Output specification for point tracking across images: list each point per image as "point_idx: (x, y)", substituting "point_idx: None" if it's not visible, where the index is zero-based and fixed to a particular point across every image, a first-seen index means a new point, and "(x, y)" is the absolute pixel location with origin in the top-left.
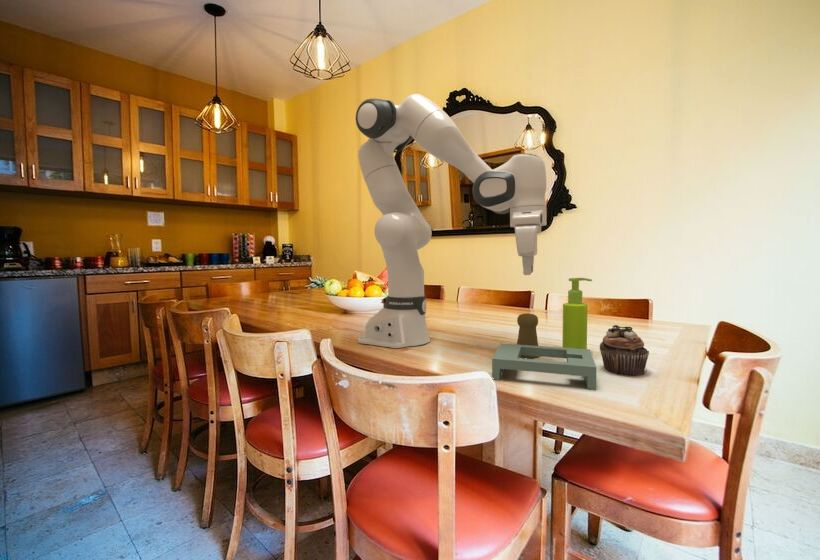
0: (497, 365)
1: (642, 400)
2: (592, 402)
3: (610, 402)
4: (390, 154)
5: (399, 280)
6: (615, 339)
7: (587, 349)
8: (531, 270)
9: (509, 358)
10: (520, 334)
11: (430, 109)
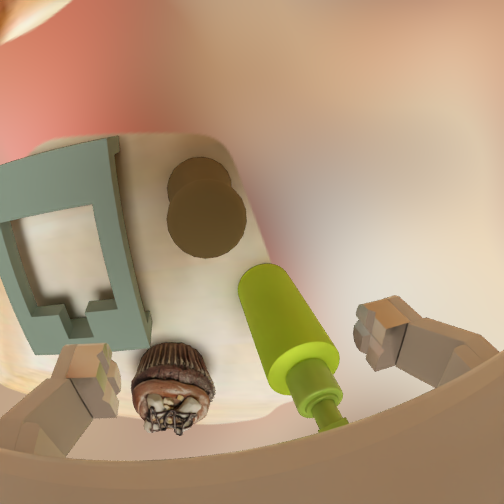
0: None
1: (49, 373)
2: (3, 324)
3: (17, 343)
4: None
5: None
6: (139, 403)
7: (146, 344)
8: (361, 343)
9: None
10: (181, 185)
11: None
